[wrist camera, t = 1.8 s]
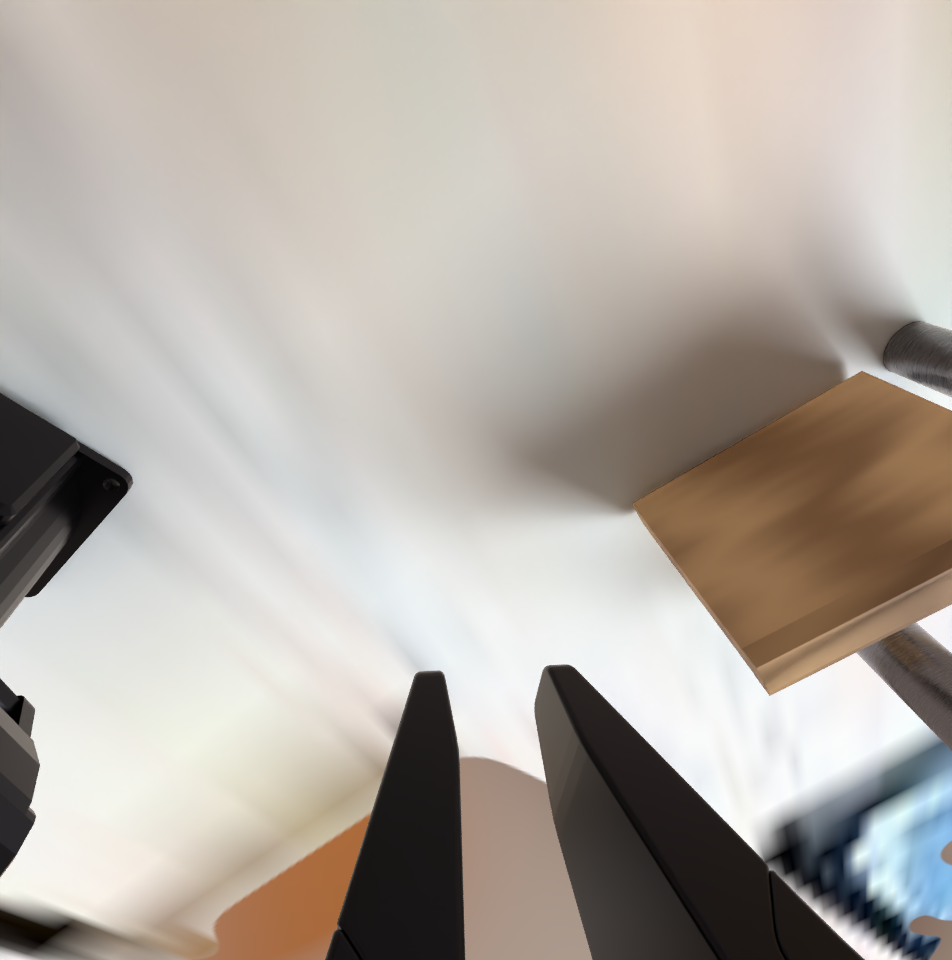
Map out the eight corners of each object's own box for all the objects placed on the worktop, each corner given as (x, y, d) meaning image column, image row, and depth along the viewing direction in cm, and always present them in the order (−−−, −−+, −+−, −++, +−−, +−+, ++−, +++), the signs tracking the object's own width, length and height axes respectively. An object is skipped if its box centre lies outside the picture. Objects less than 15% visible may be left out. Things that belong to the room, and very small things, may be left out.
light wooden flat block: (861, 367, 21) (1120, 481, 14) (867, 398, 22) (1116, 521, 14) (630, 501, 22) (756, 668, 15) (644, 525, 23) (770, 696, 16)
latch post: (792, 588, 27) (983, 785, 19) (772, 564, 26) (965, 761, 18) (835, 558, 27) (1053, 747, 18) (816, 532, 26) (1037, 720, 17)
